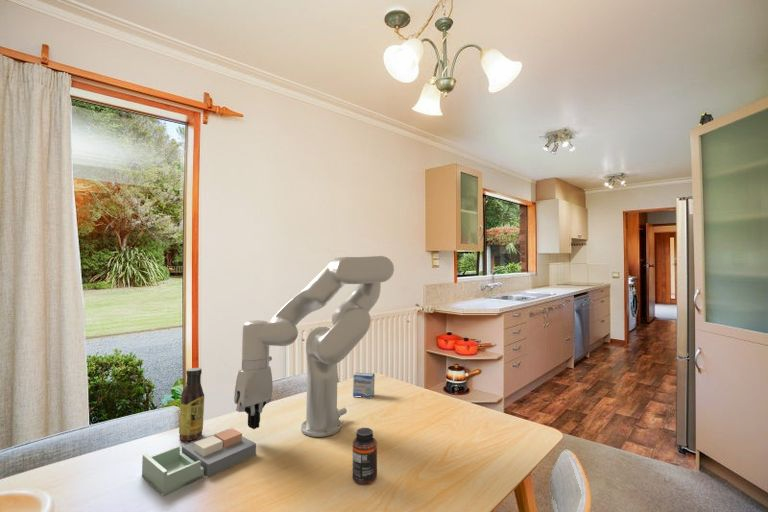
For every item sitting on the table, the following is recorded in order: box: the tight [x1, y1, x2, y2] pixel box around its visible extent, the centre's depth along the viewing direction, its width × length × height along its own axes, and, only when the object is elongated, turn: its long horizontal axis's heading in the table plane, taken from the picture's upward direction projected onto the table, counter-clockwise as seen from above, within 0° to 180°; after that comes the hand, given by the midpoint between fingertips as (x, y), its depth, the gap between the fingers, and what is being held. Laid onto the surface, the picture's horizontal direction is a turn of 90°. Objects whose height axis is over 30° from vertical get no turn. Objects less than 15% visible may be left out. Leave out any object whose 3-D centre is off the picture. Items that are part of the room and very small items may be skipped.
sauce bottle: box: [178, 367, 205, 442], centre depth 106 cm, size 6×6×20 cm
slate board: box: [181, 428, 257, 478], centre depth 95 cm, size 13×14×3 cm
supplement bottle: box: [352, 427, 378, 486], centre depth 86 cm, size 6×6×11 cm
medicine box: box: [352, 371, 376, 398], centre depth 141 cm, size 8×4×9 cm, turn 81°
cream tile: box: [193, 435, 223, 457], centre depth 93 cm, size 5×5×2 cm
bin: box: [141, 445, 205, 496], centre depth 86 cm, size 9×12×5 cm
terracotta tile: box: [214, 427, 243, 448], centre depth 97 cm, size 5×5×2 cm
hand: (253, 427), depth 103 cm, fingers closed
